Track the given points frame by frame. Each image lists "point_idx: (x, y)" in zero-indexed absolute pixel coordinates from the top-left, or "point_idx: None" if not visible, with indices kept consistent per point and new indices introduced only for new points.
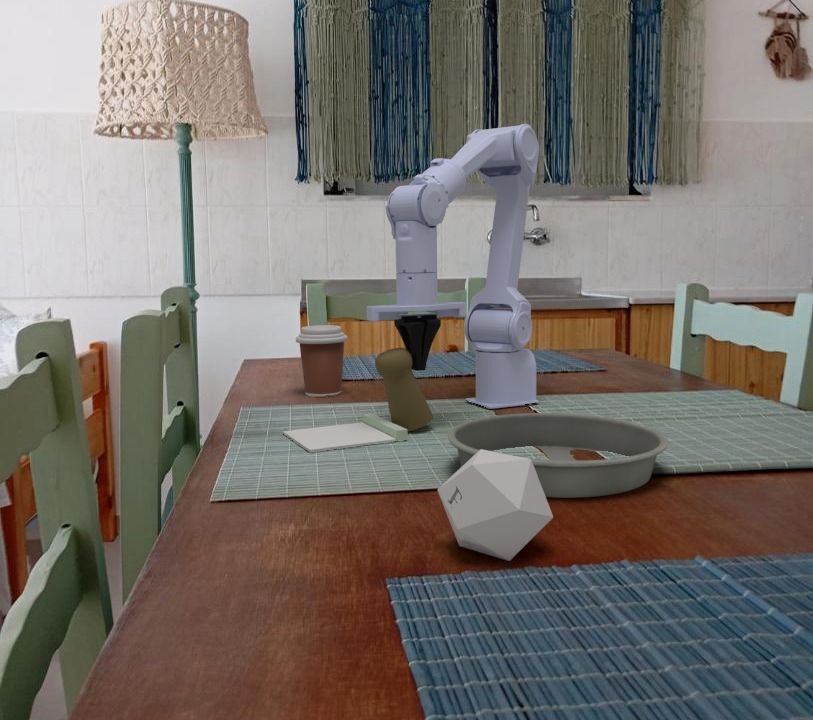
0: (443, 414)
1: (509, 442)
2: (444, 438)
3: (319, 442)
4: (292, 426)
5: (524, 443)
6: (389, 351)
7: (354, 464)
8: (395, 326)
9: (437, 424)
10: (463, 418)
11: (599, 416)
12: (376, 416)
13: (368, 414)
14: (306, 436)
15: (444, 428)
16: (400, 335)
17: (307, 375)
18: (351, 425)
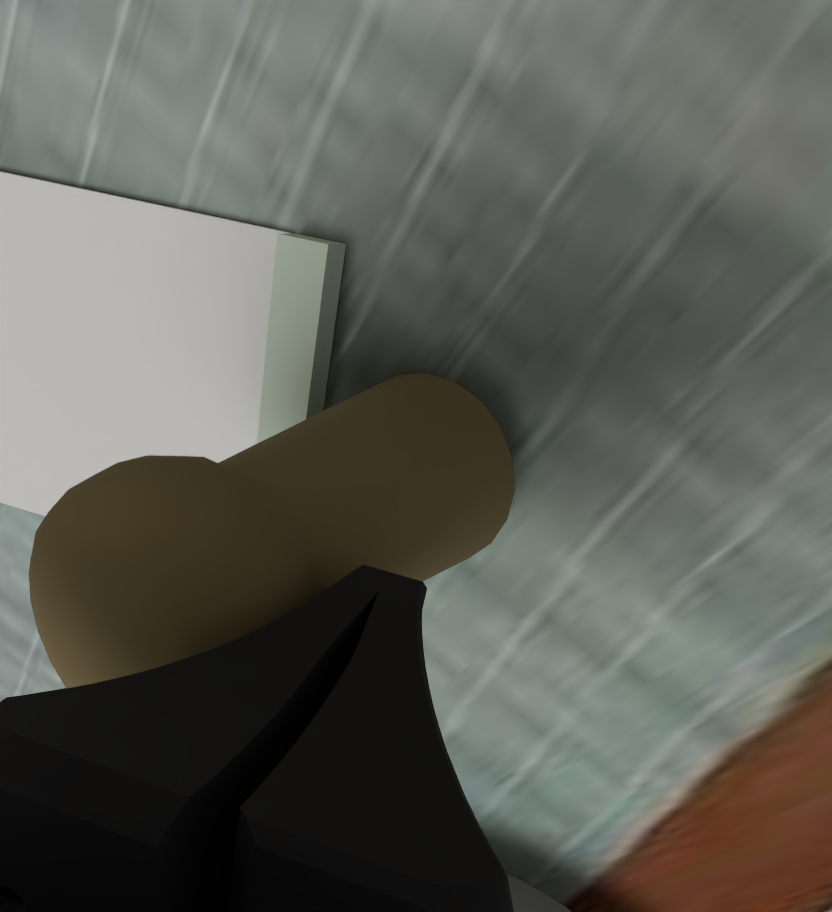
0: (791, 298)
1: None
2: (423, 650)
3: (18, 432)
4: (20, 18)
5: (534, 900)
6: (74, 645)
7: (51, 665)
8: (23, 698)
9: (574, 464)
10: (778, 453)
11: None
12: (309, 318)
13: (302, 247)
14: (2, 316)
15: (539, 541)
16: (151, 673)
17: None
18: (217, 262)
